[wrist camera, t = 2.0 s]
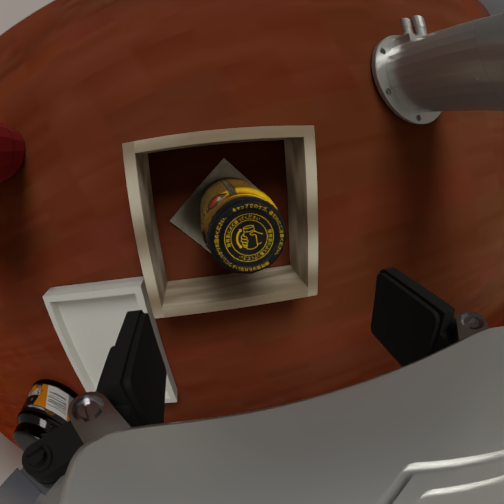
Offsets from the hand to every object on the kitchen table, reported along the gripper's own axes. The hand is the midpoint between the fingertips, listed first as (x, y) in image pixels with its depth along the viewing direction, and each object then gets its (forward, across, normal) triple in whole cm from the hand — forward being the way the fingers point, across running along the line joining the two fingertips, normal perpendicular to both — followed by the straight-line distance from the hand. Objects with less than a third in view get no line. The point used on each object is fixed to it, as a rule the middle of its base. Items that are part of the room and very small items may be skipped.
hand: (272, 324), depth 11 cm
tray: (+20, +16, +14) cm, 30 cm away
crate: (+20, 0, 0) cm, 20 cm away
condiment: (+21, 0, 0) cm, 21 cm away
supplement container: (+21, +32, +25) cm, 45 cm away
